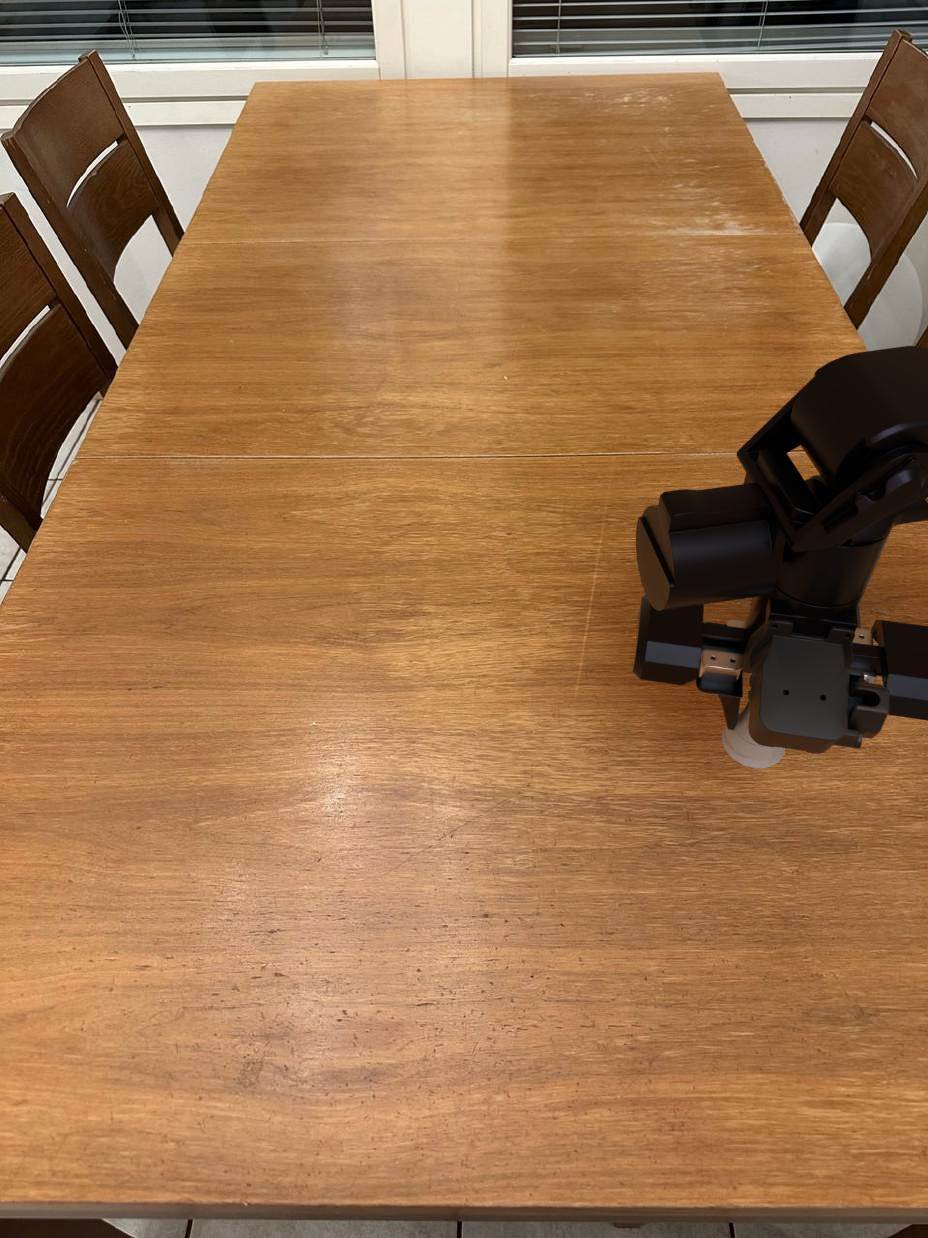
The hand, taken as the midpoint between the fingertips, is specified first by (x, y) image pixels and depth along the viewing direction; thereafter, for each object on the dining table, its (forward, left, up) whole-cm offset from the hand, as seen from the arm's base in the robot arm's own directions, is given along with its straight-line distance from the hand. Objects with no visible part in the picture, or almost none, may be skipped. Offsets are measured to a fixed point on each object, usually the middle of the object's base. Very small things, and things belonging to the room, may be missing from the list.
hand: (757, 728), depth 66 cm
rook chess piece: (0, 0, -2) cm, 2 cm away
